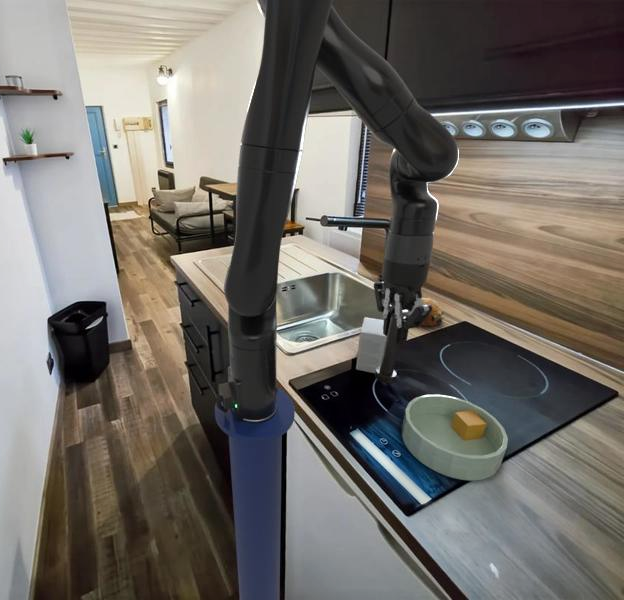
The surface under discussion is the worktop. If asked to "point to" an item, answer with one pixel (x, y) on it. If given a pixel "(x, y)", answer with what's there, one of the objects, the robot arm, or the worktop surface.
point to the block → (468, 425)
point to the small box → (370, 345)
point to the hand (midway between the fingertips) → (393, 338)
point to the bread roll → (432, 313)
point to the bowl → (452, 438)
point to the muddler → (389, 355)
